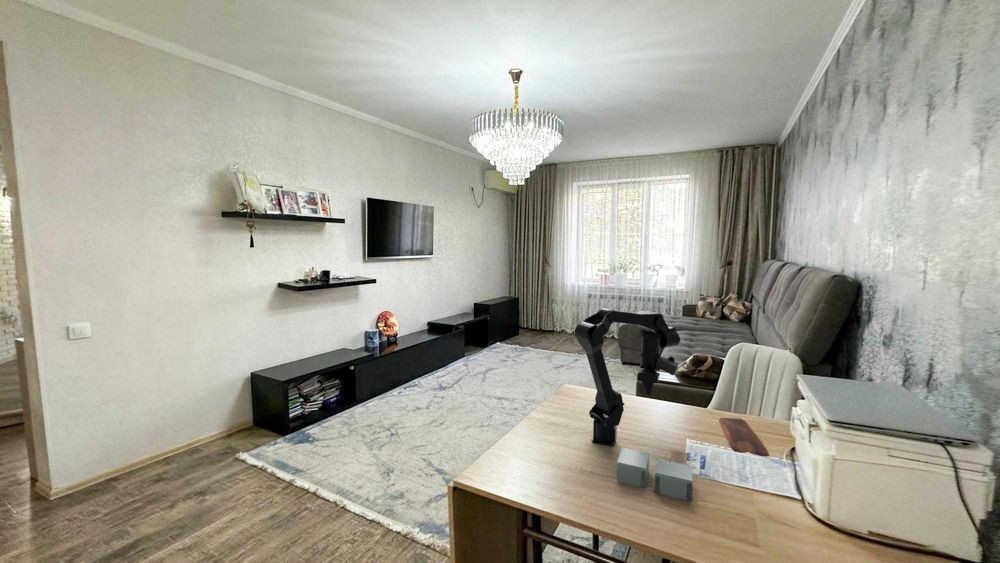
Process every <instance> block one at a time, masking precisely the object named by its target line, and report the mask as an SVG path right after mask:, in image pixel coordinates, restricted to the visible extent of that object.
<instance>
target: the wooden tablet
mask: <svg viewBox="0 0 1000 563" xmlns="http://www.w3.org/2000/svg"><path fill="white" fill-rule="evenodd" d="M718 420H719V421H718V422H719V424H720V427H721V429H722V431H723V432H724V434H725V437H726V438H727V439H726V440H727V441H728V444H729V446H730V448H731V449H732V450H733V452H737V453H748V454H753V455H756V456H760V457H761V456H763V457H768V456H769V452H768V449H767V447H766V445H764V443H763V441H762V439H761V438H759V436H758V434H756V432H755V431H754V430H753V428H752V427H751V426H750V425H749V424H748V422H746V420H744V419H742V418H735V417H729V418H728V417H720V418H719V419H718Z"/></svg>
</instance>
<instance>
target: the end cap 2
mask: <svg viewBox="0 0 1000 563" xmlns="http://www.w3.org/2000/svg"><path fill="white" fill-rule="evenodd" d="M692 492H693V465H688V464H687V465H685V464H680V463H675V462H671V460H670V461H669V460H666V459H661V458H657V459H656V465H655V469H654V493H655V494H658V495H662V496H667V497H671V498H675V499H678V500H679V499H680V500H683V501H687V502H691V503H692V497H693V493H692Z"/></svg>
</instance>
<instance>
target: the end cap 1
mask: <svg viewBox="0 0 1000 563" xmlns="http://www.w3.org/2000/svg"><path fill="white" fill-rule="evenodd" d="M649 469H650V453H649V452H645V451H641V450H637V449H631V448H626V447H621V449H620V452H619V456H618V458H617V461H616V482H617V483H623V484H627V485H630V486H634V487H639V488H643V489H646V487H647V483H648V476H649V472H650V470H649Z"/></svg>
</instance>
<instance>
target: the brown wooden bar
mask: <svg viewBox="0 0 1000 563" xmlns="http://www.w3.org/2000/svg"><path fill="white" fill-rule="evenodd" d="M670 462H675V463H680V464H685V465H688V453H687V452H683V451H679V450H673V449H671V454H670Z"/></svg>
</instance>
